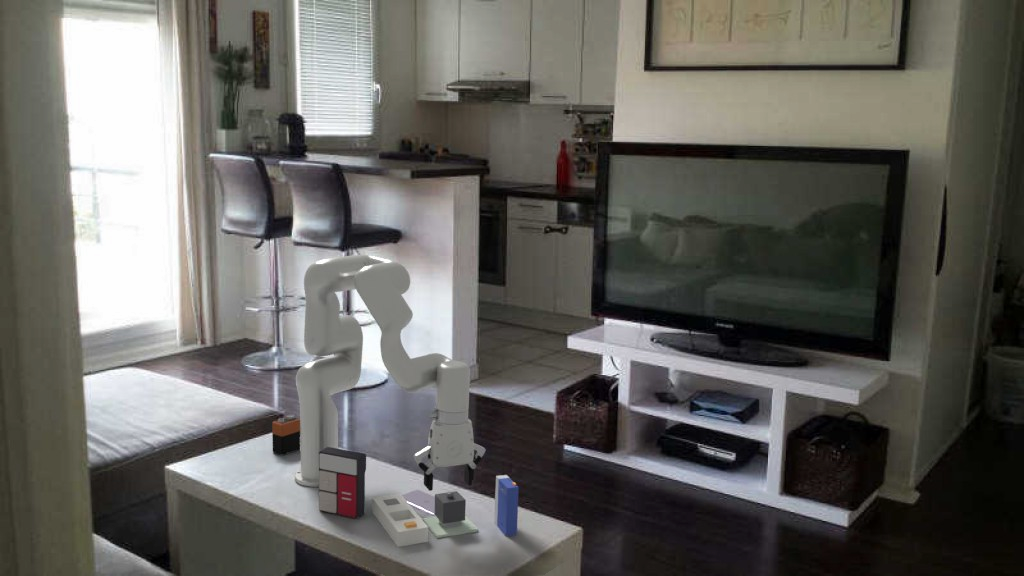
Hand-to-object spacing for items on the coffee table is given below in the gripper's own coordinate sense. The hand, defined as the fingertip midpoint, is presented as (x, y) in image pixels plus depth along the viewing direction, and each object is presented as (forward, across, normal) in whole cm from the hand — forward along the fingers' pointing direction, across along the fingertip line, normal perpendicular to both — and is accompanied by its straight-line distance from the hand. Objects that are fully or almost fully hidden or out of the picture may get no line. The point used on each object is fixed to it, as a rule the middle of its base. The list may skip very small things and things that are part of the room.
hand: (448, 485), depth 211 cm
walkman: (+10, +12, -7) cm, 17 cm away
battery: (+12, -25, +61) cm, 67 cm away
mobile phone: (+11, 0, +13) cm, 17 cm away
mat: (+10, 0, -1) cm, 10 cm away
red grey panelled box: (+11, -21, +15) cm, 28 cm away
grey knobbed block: (+9, 0, -1) cm, 9 cm away
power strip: (+10, -11, +3) cm, 15 cm away
